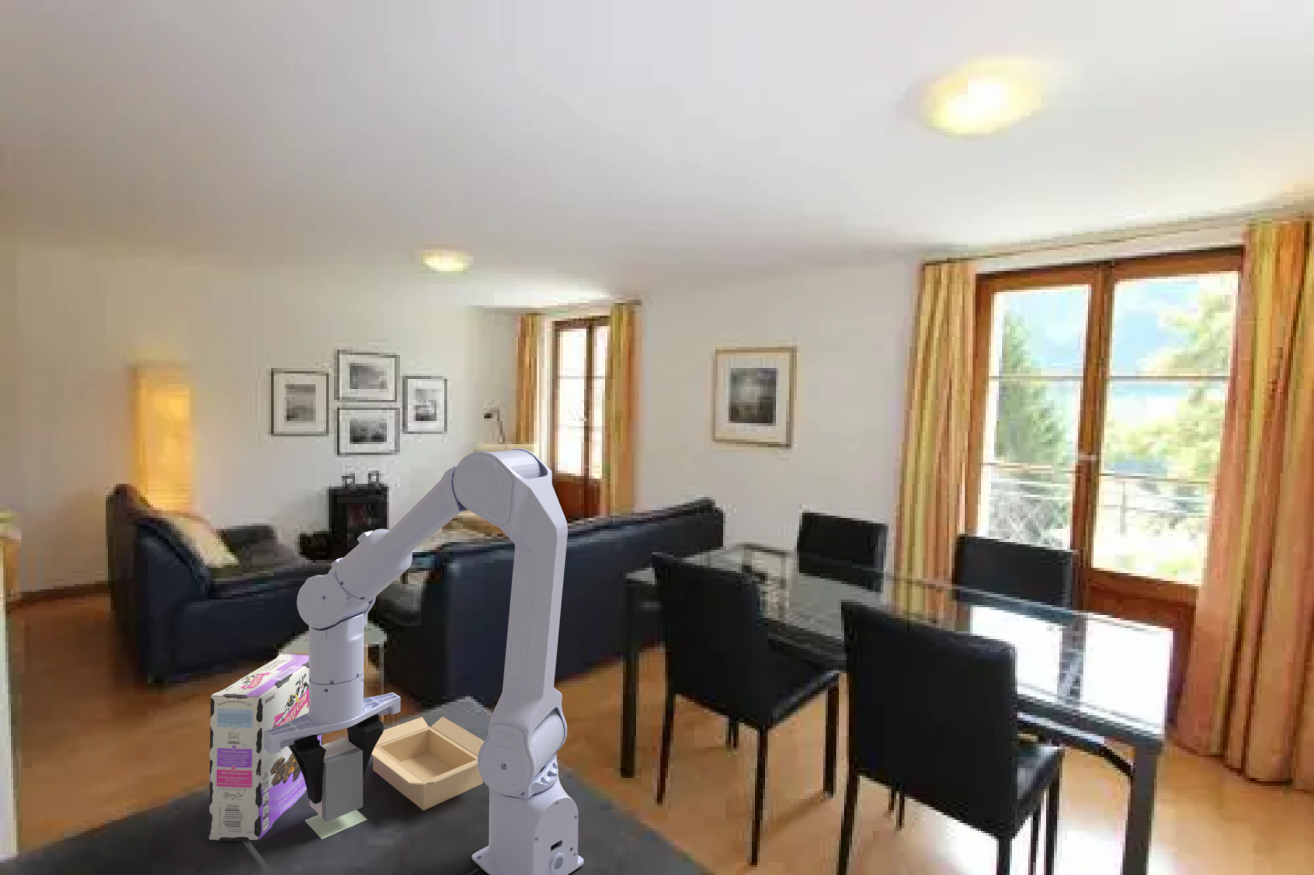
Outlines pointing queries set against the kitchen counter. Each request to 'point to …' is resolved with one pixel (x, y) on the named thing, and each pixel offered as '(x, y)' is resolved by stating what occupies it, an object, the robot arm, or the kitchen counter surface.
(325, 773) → the block
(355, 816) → the mat
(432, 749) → the carton
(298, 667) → the candy box
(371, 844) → the kitchen counter surface
